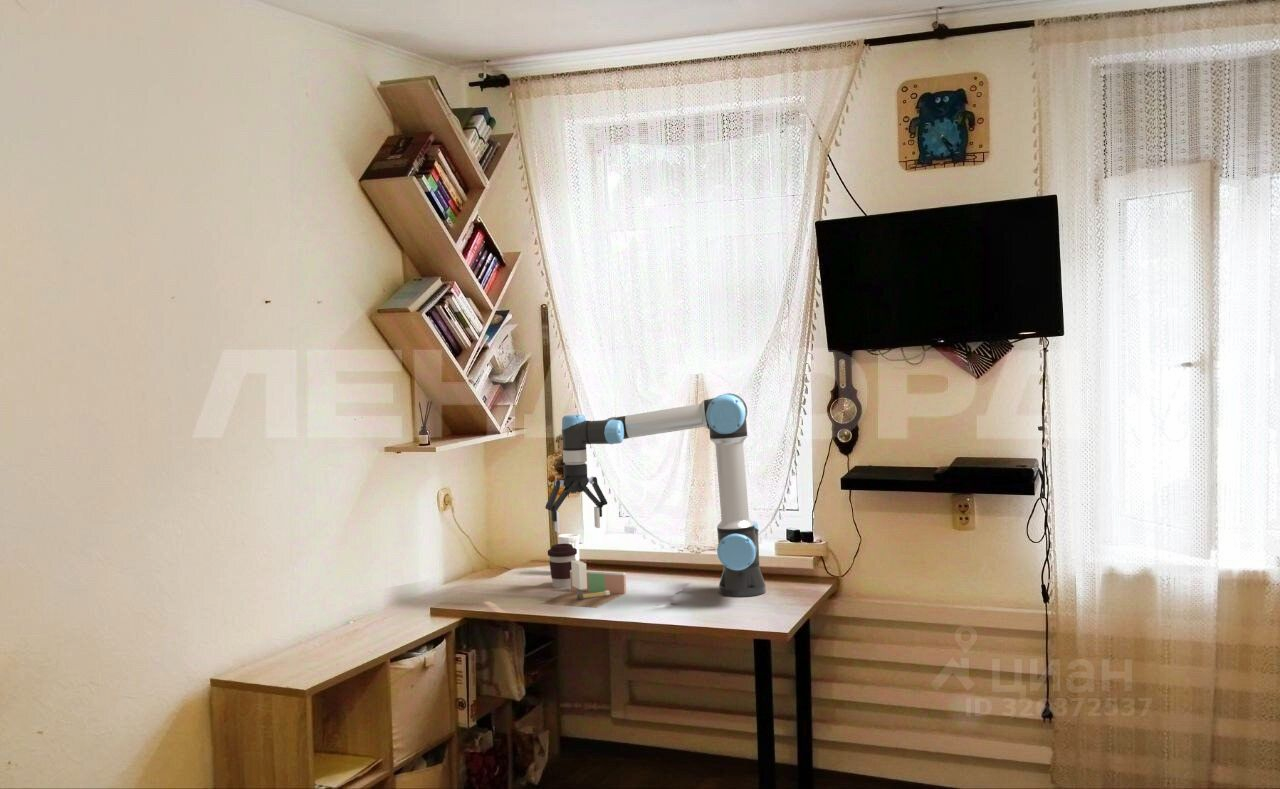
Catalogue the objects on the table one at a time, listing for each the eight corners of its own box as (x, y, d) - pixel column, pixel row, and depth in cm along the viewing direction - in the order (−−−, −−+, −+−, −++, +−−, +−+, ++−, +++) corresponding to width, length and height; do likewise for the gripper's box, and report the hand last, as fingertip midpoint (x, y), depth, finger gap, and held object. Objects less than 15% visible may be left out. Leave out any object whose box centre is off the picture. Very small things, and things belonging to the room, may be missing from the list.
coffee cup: (560, 593, 338) (558, 548, 338) (543, 589, 346) (541, 545, 345) (584, 588, 345) (582, 544, 344) (566, 584, 352) (564, 541, 352)
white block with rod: (580, 602, 319) (578, 564, 319) (572, 598, 326) (571, 560, 325) (613, 597, 324) (611, 560, 323) (605, 593, 330) (603, 556, 330)
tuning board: (626, 596, 330) (626, 592, 330) (596, 611, 311) (595, 607, 311) (573, 592, 339) (573, 589, 339) (540, 607, 320) (540, 603, 320)
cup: (559, 572, 373) (558, 534, 373) (581, 571, 374) (580, 532, 373) (559, 577, 365) (557, 537, 365) (581, 576, 365) (579, 536, 365)
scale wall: (626, 592, 330) (625, 572, 330) (624, 593, 329) (623, 573, 328) (572, 589, 339) (571, 569, 338) (570, 590, 337) (569, 570, 337)
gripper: (606, 459, 332) (609, 524, 333) (534, 465, 322) (536, 531, 323) (615, 461, 325) (618, 527, 326) (541, 467, 315) (544, 535, 316)
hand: (577, 529), depth 324 cm, fingers open, 13 cm apart
